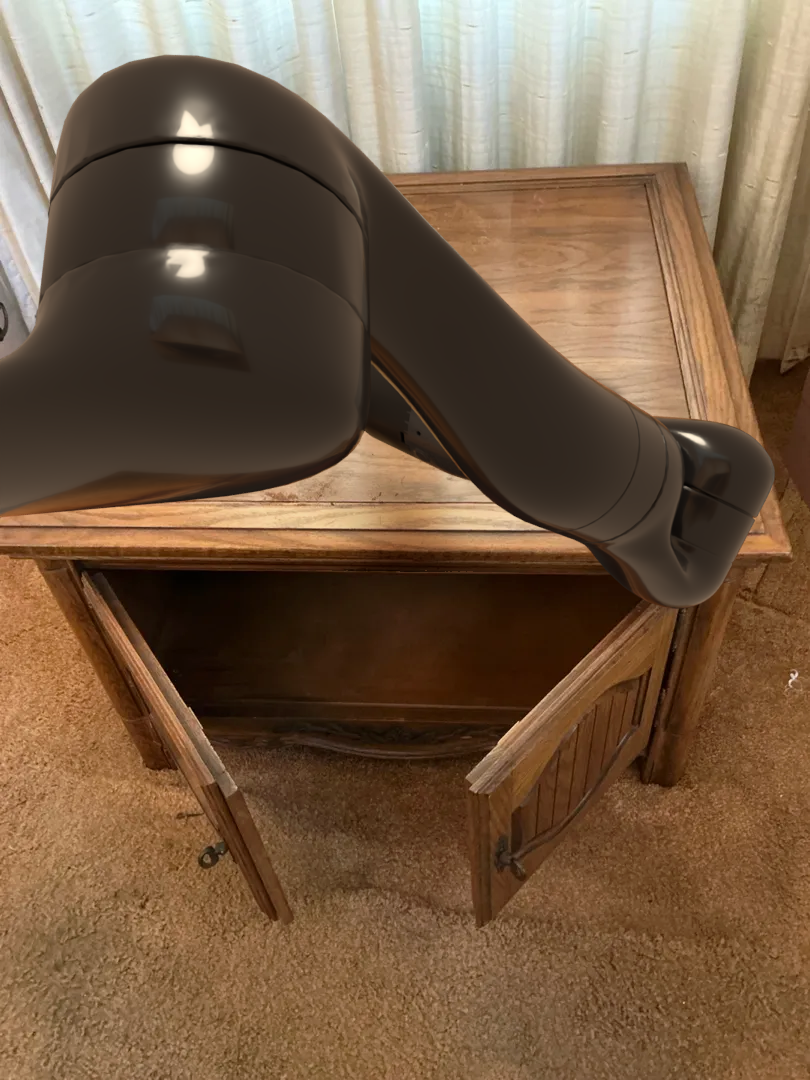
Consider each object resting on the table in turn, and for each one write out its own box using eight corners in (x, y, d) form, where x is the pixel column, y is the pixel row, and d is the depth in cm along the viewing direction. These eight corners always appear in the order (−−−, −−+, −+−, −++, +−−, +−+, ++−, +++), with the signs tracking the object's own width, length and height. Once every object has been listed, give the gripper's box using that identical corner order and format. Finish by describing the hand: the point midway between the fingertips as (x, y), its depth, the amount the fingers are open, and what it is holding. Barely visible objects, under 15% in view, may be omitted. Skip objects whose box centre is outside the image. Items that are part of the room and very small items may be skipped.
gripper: (509, 303, 55) (325, 238, 63) (370, 428, 49) (183, 338, 56) (508, 393, 61) (340, 323, 68) (384, 515, 54) (213, 424, 62)
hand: (269, 330), depth 62 cm, fingers open, 8 cm apart
